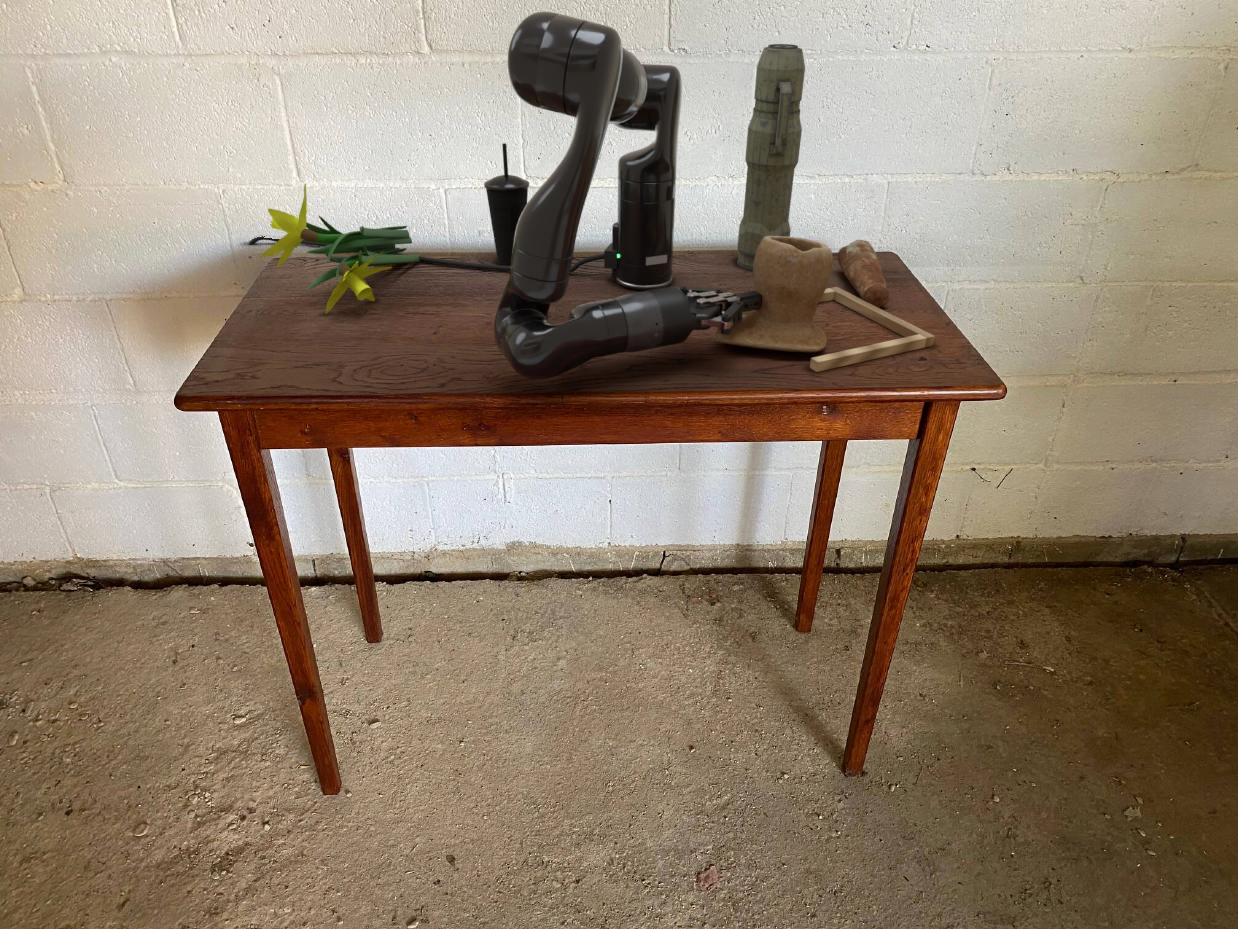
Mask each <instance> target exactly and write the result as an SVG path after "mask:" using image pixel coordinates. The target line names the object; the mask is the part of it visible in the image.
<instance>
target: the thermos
mask: <svg viewBox="0 0 1238 929" xmlns="http://www.w3.org/2000/svg"><path fill="white" fill-rule="evenodd" d="M805 73H806V63H805V58H804V52H803V48H801V47H799V45H797V44H791V43H789V44H788V43H773V44H771V43H770V44H768V46H764V47H763V48H762V52H761V54H760V57H759V60H758V63H757V65H756V76H755V87H754V98H753V99H754V107H753V109H752V110H753V111H752V116H751V119H750V121H749V124H748V126H747V135H746V148H745V163H746V166H747V167H746V168H747V170H746V178H745V179H746V180H745V181H746V182H745V192H744V204H743V214H742V215H743V217H742V218H741V221H740V222H739V227H738V235H737V236H738V237H737V252H738V253H737V261H736V264H737V265H738V267H740V268H743V269H744V270H748V271H753V265H754V258H755V254H756V251H757V249H758V246H759V244H760V242H761V240H762V239H763V238H764V237H766V236H785V237H791V224H790V220H789V219H790V210H791V203H792V202H791V201H792V194H793V184H794V176H795V169H796V167H797V165H798V164H799V157H800V150H801V142H802V131H803V128H802V123H801V109H800V106H801V105H800V104H801V101H802V99H803V90H804V84H805V83H804V80H805Z"/></svg>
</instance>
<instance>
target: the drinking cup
mask: <svg viewBox="0 0 1238 929" xmlns="http://www.w3.org/2000/svg"><path fill="white" fill-rule="evenodd" d="M501 145H502V146H501V147H502V162H503V174H501V175H497V176H495V177H492V178H491V179H489V180H486V181H485V182H484V183H483V187H484V188H485V191H486V196H487V204H488V211H489V215H490V221H491V227H492V234H493V239H494V246H495V253H496V259H497V263H498V265H501V266H511V259H512V251H513V244H514V236H515V231H516V227H517V223H518V220H519V218H520V215H521V213H522V211H523V209H524V208H525V206H526V205H527V203H528V192H529V187H530V182H529V181H528V180H527V179H524V178H522V177H519V176H517V175H513V174H509V164H508V150H507V149H508V148H507V147H508V146H507V143H506V142H505V143H501Z"/></svg>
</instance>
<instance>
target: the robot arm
mask: <svg viewBox="0 0 1238 929" xmlns="http://www.w3.org/2000/svg"><path fill="white" fill-rule="evenodd" d="M507 72H508V77H509V81H510V85H511V87H512V88H513V91H514V92H515V93H516V95H517V97H518V98H519V99H520V100H522V101H523V103H525V104H527V105H530V106H532V107H534V108H538V109H540V110H546V111H549V112H553V113H558V114H561V115H564V116H569V117H571V118H574V119H576V123H575V128H574V130H573V135H572V139H571V141H570V144H569V146H568V148H567V151H566V152H565V155H564V156H563V158H562V160H561V161H560V163H558V165H557V166H556V168H555V169H554V171H553V172H552V173H551V174H550V175H549V177H548V178H547V179H546V180H545V182H543V183H542V185H541V186H540V187H539V188H538V189H537V190H536V192H534V194H533V195H532V196H531V198H530V199H529V200H528V201H527V205H526V206H525V208H524V209H523V211H522V213H521V215H520V218H519V220H518V223H517V227H516V231H515V236H514V244H513V251H512V259H511V266H506V265H501V264H488V263H487V264H486V263H475V262H466V261H459V260H457V261H456V260H448V259H442V258H434V257H427V256H420V255H419V260H420V261H421V262H423V263H430V264H439V265H444V266H453V267H461V268H469V269H470V268H471V269H480V270H481V269H482V270H490V271H491V270H493V271H505V272H509V276H508V279H507V280H508V281H507V283H506V285H505V287H504V289H503V293H502V295H501V297H500V301H499V304H498V306H497V310H496V313H495V316H494V324H493V325H494V326H493V333H494V334H493V336H494V341H495V344H496V346H497V348H498V350H499V351H500V353H501V354H502V355H503V356H504V358H505V359H506V360H507V362H508V363H509V365H510V366H511V368H512V369H513V370H514V372H516V374H518V375H519V376H521V377H523V378H525V379H528V380H536V381H537V380H549V379H553V378H556V377H558V376H561V375H562V374H565V373H567V372H568V371H572V370H574V369H576V368H577V367H580V366H582V365H583V364H586V363H587V362H589V361H591V360H593V359H595V358H602V357H603V358H604V357H607V356H612V355H617V354H624V353H637V352H642V351H648V350H652V349H658V348H663V347H667V346H673V345H678V344H682V343H684V342H685V341H686V340H687V339H688V338H689V336H690V335H691V333H692V332H693V331H705V330H709V329H711V328H712V327H713V328H717V329H718V328H720V329H721V334H724V335H727V334H730V333H731V332H732V331H733V330H734V328H735V327H736V326H737V325H738V324H739V323H740V322H741V321H742V314H743V312H746V311H751V310H757V309H760V308H761V306H762V294H760V293H758V292H756V291H755V290H749V291H745V292H739V293H734V292H730V291H727V292H724V290H723V289H721V288H712V287H701V286H700V287H697V286H687V285H686V286H685V285H683V286H680V287H677V286H673V285H672V286H671V284H672V283H673V258H674V257H673V256H674V238H675V237H674V236H675V234H674V233H675V213H676V190H677V189H676V187H677V165H678V164H677V162H678V146H679V131H680V120H681V119H680V118H681V112H682V111H681V108H682V99H683V98H682V97H683V82H682V81H683V80H682V74H681V72H680V70H679V68H678V67H676V66H675V65H669V64H652V63H651V64H650V63H641V61H640V60H639V59H638V57H637V56H635V55H634V54H633V53H632V52H631V51H629V50H628V49H626V48H624V47H623V43H622V39H621V36H620V35H619V33H618V31H617V30H616V29H615V28H613V27H611V26H608V25H605V24H601V23H597V22H594V21H589V20H586V19H581V18H578V17H573V16H570V15H565V14H561V13H556V12H553V11H537V12H533V13H531V14H529V15H527V17H525V18H523V19H522V21H521V22H520V23H519V24H518V25H517V28H516V29H515V31H514V33H513V34H512V37H511V39H510V42H509V46H508V50H507ZM609 125H613V126H615V127H616V128H618V129H621V130H627V131H637V132H638V131H639V132H655V138H654V141H652V142H651V143H650V144H648V145H647V146H645V147H642V148H639V149H636V150H632V151H630V152H627V153H625V154H623V155H621V156H620V157H619V159H618V161H617V222H614V223H613V224H612V227H611V228H612V229H611V232H612V233H611V235H612V236H611V242H610V243H609V245H608V246H607V247H606V248H605V249H604V250H603V253H601V254H595V255H591V256H587V257H585V258H581V259H580V260H578V261H577V262H576V263H574V264H573V265H572V263H573V258H574V251H575V245H576V240H577V236H578V235H577V234H578V230H579V225H580V222H581V217H582V214H583V211H584V206H585V204H586V200H587V197H588V194H589V190H590V188H591V184H592V181H593V179H594V175H595V172H596V168H597V165H598V162H599V159H600V155H601V152H602V149H603V145H604V141H605V138H606V135H607V132H608V128H609ZM261 236H262V235H261ZM256 237H257V236H256ZM264 237H265V236H264ZM264 237H263V236H262V237H257V238H255V237H253V238H254V239H253V238H251V240H250V241H249V242H248V246H254V245H255V244H256V243H257V242H259V241H271V242H275V243H276V242H278V241H279V240H280V239H272V238H264ZM331 244H332V243H317V242H309V241H305V240H302V242H301V243H300V244H299V245H308V246H318V247H324V246H327V245H331ZM370 252H374V251H370ZM391 254H392V255H400V254H403V252H399V253H391ZM406 254H407V255H409V254H408V253H406ZM599 260H603V267H604V268H603V269H611V273H612V274H611V280H612V281H613V282H616V283H617V284H618V285H620V286H621V287H624V288H627V289H631V290H635V291H637V292H631V293H626V294H623V295H620V296H616V297H613V298H607V299H602V300H596V301H591V302H587V303H582V304H579V305H576V306H575V307H573V308H572V309H571V311H570V312H569V314H568V317H567V320H566V321H565V322H561V323H559V324H558V323H557V324H552V323H551V322H550V321H549V312H550V307H551V304H555V303H557V302H559V301H560V300H561V299H563V297H565V294H566V293H567V292H566V291H567V290H568V287H569V286H568V285H569V280H570V275H571V273H573V272H575V271H577V270H578V269H579V268H580V267H581V266H582V265H585V264H587V263H590V262H594V261H599Z"/></svg>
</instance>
